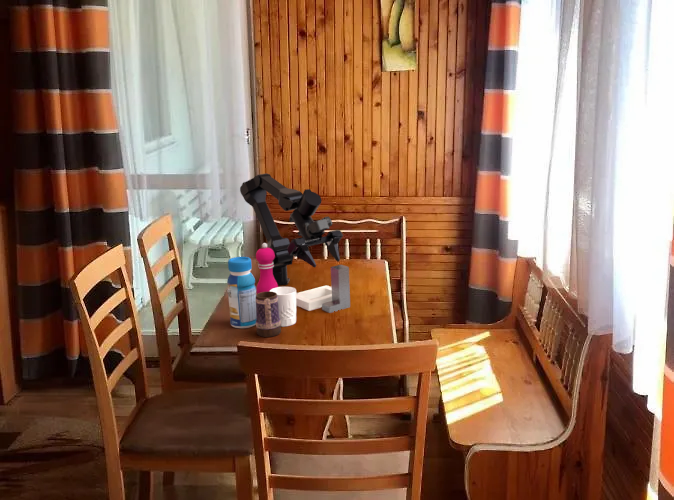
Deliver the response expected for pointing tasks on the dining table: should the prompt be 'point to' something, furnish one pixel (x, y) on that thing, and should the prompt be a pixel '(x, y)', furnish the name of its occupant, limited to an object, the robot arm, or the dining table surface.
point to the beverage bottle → (241, 293)
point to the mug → (267, 314)
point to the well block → (305, 297)
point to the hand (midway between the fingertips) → (327, 263)
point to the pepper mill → (265, 269)
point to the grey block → (339, 289)
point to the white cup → (286, 304)
